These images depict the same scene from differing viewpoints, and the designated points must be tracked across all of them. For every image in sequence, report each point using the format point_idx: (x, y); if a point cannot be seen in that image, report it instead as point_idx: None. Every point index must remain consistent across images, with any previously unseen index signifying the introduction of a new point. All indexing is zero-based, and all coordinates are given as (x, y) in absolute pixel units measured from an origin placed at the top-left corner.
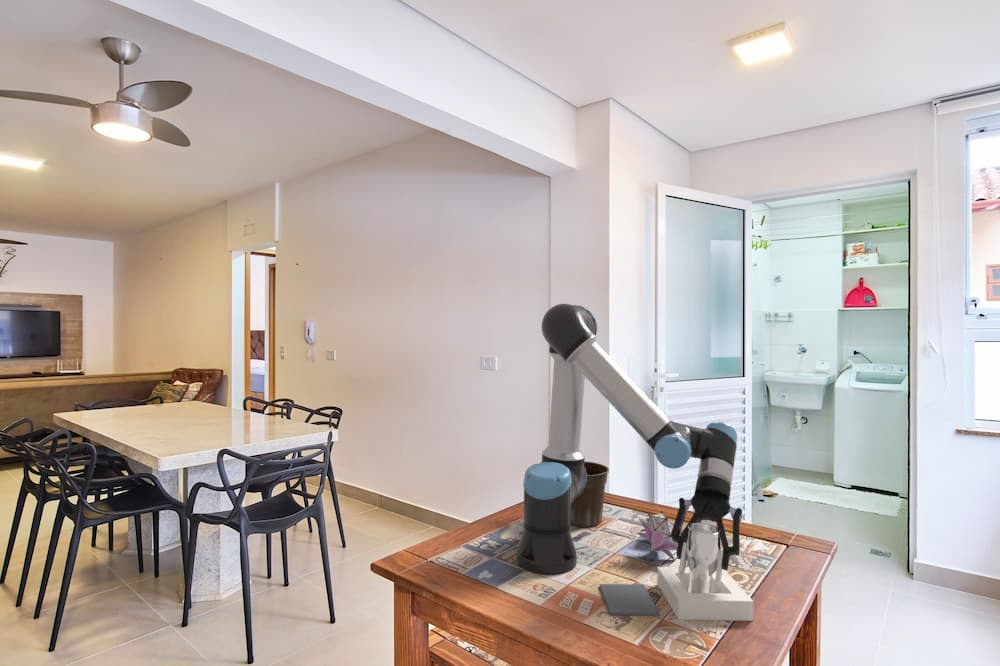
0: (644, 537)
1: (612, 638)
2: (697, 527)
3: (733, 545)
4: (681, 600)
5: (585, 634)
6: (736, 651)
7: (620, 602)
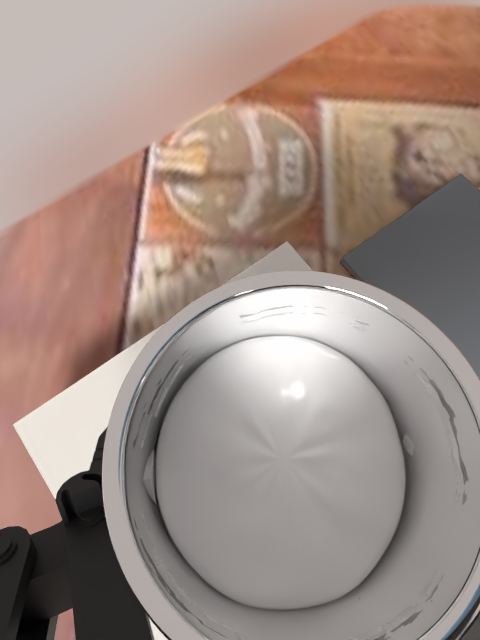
0: None
1: (382, 89)
2: (425, 604)
3: (17, 566)
4: (279, 247)
5: (444, 69)
6: (81, 212)
7: (474, 241)
